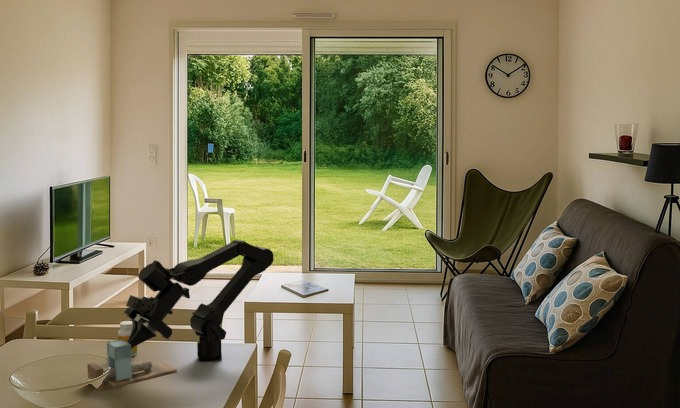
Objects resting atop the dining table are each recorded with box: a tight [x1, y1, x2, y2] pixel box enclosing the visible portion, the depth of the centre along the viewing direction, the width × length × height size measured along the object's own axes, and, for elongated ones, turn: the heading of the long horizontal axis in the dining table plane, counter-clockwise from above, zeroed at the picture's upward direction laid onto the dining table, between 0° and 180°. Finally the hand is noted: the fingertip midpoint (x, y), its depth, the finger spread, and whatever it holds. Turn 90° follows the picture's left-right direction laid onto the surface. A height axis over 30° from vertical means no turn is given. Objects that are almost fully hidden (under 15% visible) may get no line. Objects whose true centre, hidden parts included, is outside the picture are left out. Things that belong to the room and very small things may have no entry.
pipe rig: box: [86, 359, 178, 391], centre depth 184 cm, size 22×8×5 cm, turn 131°
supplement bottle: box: [117, 320, 138, 358], centre depth 201 cm, size 5×5×10 cm
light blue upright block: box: [106, 339, 132, 381], centre depth 181 cm, size 4×6×9 cm, turn 41°
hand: (127, 348), depth 182 cm, fingers closed, pressing on light blue upright block
